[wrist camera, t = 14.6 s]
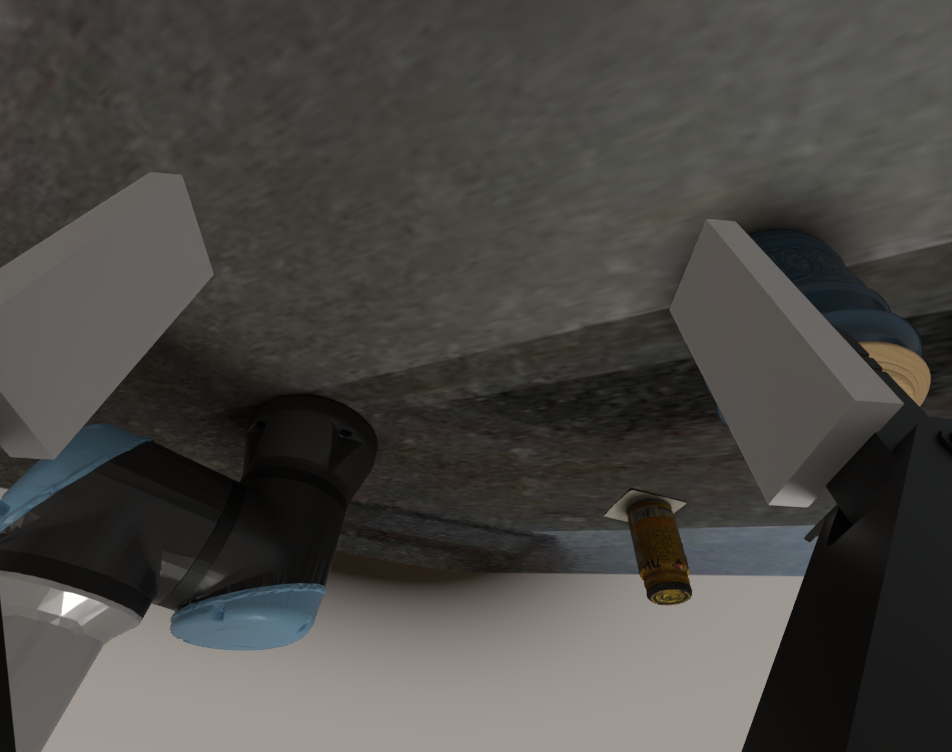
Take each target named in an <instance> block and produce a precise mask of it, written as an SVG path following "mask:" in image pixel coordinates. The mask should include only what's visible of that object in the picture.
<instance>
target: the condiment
mask: <svg viewBox="0 0 952 752" xmlns="http://www.w3.org/2000/svg"><path fill="white" fill-rule="evenodd" d="M685 504H686V503H684V502H681V501H677V500H674V499H670V498H666V497H661V496H655V495H652V494H648V493H645V492H638V491H634V490H630V491H629V492H628V493H627V494H626V495H624V496H623V497H622V498H621V499H620V500H619V501H618V502H617V503H616V504H614V506H613V507H612V508H611V509H610V510H609V511H608V512H607V513H606V514H605V515H604V516H606V517H609V518H614V519H618V520H622V521H627V522H629V527H630V531H631V536H632V540H633V545H634V551H635V556H636V560H637V565H638V569H639V574H640V577H641V578H642V580H644V585H645V588H646V590H647V597H648V599H649V600H650V601H652V602H653V603H655V604H659V605H675V604H680V603H684V602H686V601H687V600H688V599H690V597H691V596H692V589H691V586H690V581H689V578H688V574H689V567H688V563H687V558H686V556H685V553H684V549H683V544H682V542H681V538H680V534H679V531H678V528H677V524H676V521H675V517H674V514H673V513H674V512H676V511H677V510H679V509H680V508H681V507H683V506H684V505H685ZM623 510H625V511H626V513H625V511H623Z"/></svg>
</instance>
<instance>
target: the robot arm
mask: <svg viewBox="0 0 952 752" xmlns="http://www.w3.org/2000/svg"><path fill="white" fill-rule="evenodd" d="M213 275H214V274H213V270H212V267H211V264H210V261H209V258H208V255H207V252H206V249H205V245H204V242H203V239H202V236H201V233H200V230H199V227H198V223H197V220H196V217H195V214H194V211H193V208H192V205H191V202H190V198H189V195H188V192H187V189H186V186H185V183H184V180H183V176H182V175H178V174H166V173H154V172H150V173H148V174H146V175H145V176H143V177H142V178H140V179H139V180H137V181H136V182H134V183H132V184H131V185H129V186H128V187H126V188H125V189H123V190H121V191H120V192H118V193H117V194H115V195H114V196H112V197H111V198H109V199H107V200H106V201H104V202H103V203H101V204H100V205H98V206H96V207H95V208H93V209H92V210H90V211H89V212H87V213H86V214H84V215H82V216H81V217H79V218H78V219H76V220H75V221H73V222H72V223H70V224H68V225H67V226H65V227H64V228H62V229H61V230H59V231H57V232H56V233H54V234H53V235H51V236H50V237H48V238H47V239H45V240H43V241H42V242H40V243H39V244H37V245H36V246H34V247H32V248H31V249H29V250H28V251H26V252H25V253H23V254H22V255H20V256H18V257H17V258H15V259H14V260H12V261H11V262H9V263H8V264H6V265H4V266H3V267H1V268H0V446H1V447H2V448H3V449H4V450H5V452H6V453H7V454H8V455H9V456H10V457H19V458H35V459H41V460H39V461H38V462H37V463H36V464H35V465H34V466H33V467H32V468H31V469H29V470H28V471H27V472H26V473H25V474H24V475H23V476H22V477H21V478H20V479H19V480H18V481H17V482H16V483H15V484H14V485H13V486H12V487H11V488H10V489H9V490H8V491H7V492H6V493H5V494H4V495H3V496H2V499H1V500H0V752H41V751H42V749H43V747H44V746H45V744H46V742H47V740H48V739H49V737H50V735H51V734H52V732H53V730H54V729H55V727H56V725H57V723H58V722H59V720H60V718H61V717H62V715H63V713H64V711H65V710H66V708H67V706H68V705H69V703H70V701H71V700H72V698H73V696H74V695H75V693H76V691H77V689H78V688H79V686H80V684H81V683H82V681H83V679H84V677H85V676H86V674H87V672H88V671H89V669H90V667H91V666H92V664H93V662H94V660H95V659H96V657H97V655H98V654H99V652H100V650H101V648H102V647H103V645H104V644H105V643H107V642H108V641H109V640H111V639H112V638H114V637H116V636H118V635H120V634H122V633H124V632H126V631H128V630H130V629H132V628H135V627H137V626H138V625H139V624H140V622H141V621H142V619H143V617H144V615H145V613H146V612H147V610H148V608H149V606H150V605H151V603H152V604H155V605H159V606H162V607H165V608H168V609H172V610H174V611H175V613H174V614H173V615H172V617H171V628H170V630H171V633H172V634H173V635H174V636H175V637H176V638H178V639H183V641H184V642H186V643H190V644H193V645H197V646H202V647H207V648H214V649H224V650H264V649H271V648H277V647H282V646H286V645H288V644H292V643H294V642H296V641H298V640H300V639H301V638H302V637H304V636H305V635H306V634H307V633H308V631H309V630H310V629H311V627H312V626H313V623H314V621H315V618H316V615H317V612H318V609H319V606H320V603H321V601H322V598H323V596H324V595H325V593H326V584H327V580H328V576H329V573H330V569H331V565H332V561H333V557H334V554H335V550H336V546H337V543H338V539H339V535H340V531H341V527H342V524H343V520H344V516H345V512H346V509H347V505H348V503H349V502H350V501H351V499H352V498H353V496H354V495H355V493H356V492H357V490H358V489H359V488H360V486H361V485H362V483H363V482H364V480H365V479H366V478H367V476H368V475H369V473H370V472H371V470H372V468H373V465H374V462H375V458H376V454H377V448H378V444H377V439H376V436H375V434H374V432H373V430H372V429H371V427H370V426H369V425H368V423H367V422H366V421H365V420H364V419H363V418H361V417H360V416H359V415H358V414H356V413H355V412H353V411H352V410H350V409H348V408H347V407H345V406H343V405H340V404H338V403H336V402H333V401H330V400H327V399H323V398H319V397H314V396H305V395H291V396H283V397H279V398H276V399H273V400H270V401H268V402H267V403H265V404H264V405H262V406H261V407H260V408H259V409H258V410H257V412H256V413H255V415H254V417H253V419H252V421H251V423H250V425H249V427H248V430H247V434H246V443H245V456H244V468H243V476H242V478H241V481H240V483H239V482H237V481H235V480H233V479H231V478H229V477H227V476H225V475H222V474H220V473H218V472H216V471H214V470H212V469H210V468H207V467H205V466H203V465H201V464H199V463H197V462H195V461H193V460H191V459H188V458H186V457H184V456H182V455H180V454H178V453H176V452H174V451H172V450H170V449H168V448H166V447H164V446H162V445H159V444H157V443H155V442H154V440H153V439H151V438H148V437H144V438H143V437H141V436H138V435H135V434H133V433H131V432H128V431H126V430H123V429H121V428H119V427H116V426H114V425H111V424H104V423H98V424H92V425H88V426H86V427H83V426H84V425H85V423H86V422H87V421H88V420H89V419H90V418H91V416H92V415H93V414H94V413H95V412H96V411H97V410H98V408H99V407H100V406H101V405H102V404H103V403H104V401H105V400H106V399H107V398H108V397H109V396H110V394H111V393H112V392H113V391H114V390H115V389H116V387H117V386H118V385H119V384H120V383H121V382H122V380H123V379H124V378H125V377H126V376H127V375H128V374H129V372H130V371H131V370H132V369H133V368H134V367H135V365H136V364H137V363H138V362H139V361H140V360H141V358H142V357H143V356H144V355H145V354H146V353H147V351H148V350H149V349H150V348H151V347H152V346H153V345H154V343H155V342H156V341H157V340H158V339H159V338H160V336H161V335H162V334H163V333H164V332H165V331H166V329H167V328H168V327H169V326H170V325H171V324H172V322H173V321H174V320H175V319H176V318H177V317H178V316H179V314H180V313H181V312H182V311H183V310H184V309H185V307H186V306H187V305H188V304H189V303H190V302H191V300H192V299H193V298H194V297H195V296H196V295H197V293H198V292H199V291H200V290H201V289H202V288H203V287H204V285H205V284H206V283H207V282H208V281H209V280H210V278H211V277H212V276H213ZM669 310H670V312H671V314H672V316H673V318H674V320H675V322H676V324H677V326H678V328H679V330H680V332H681V334H682V336H683V338H684V340H685V342H686V344H687V346H688V348H689V350H690V352H691V354H692V356H693V357H694V359H695V361H696V363H697V365H698V367H699V369H700V371H701V373H702V375H703V377H704V379H705V381H706V383H707V385H708V387H709V389H710V391H711V393H712V395H713V397H714V399H715V401H716V403H717V405H718V407H719V409H720V411H721V413H722V415H723V417H724V419H725V421H726V423H727V424H728V426H729V428H730V430H731V432H732V434H733V436H734V438H735V440H736V442H737V444H738V446H739V448H740V450H741V452H742V454H743V456H744V458H745V460H746V462H747V464H748V466H749V468H750V470H751V472H752V474H753V476H754V478H755V480H756V482H757V484H758V486H759V488H760V490H761V491H762V493H763V495H764V497H765V499H766V501H767V503H768V505H778V506H794V507H809V505H810V504H811V503H812V502H813V501H814V500H815V499H816V498H817V497H818V496H819V495H820V494H821V493H822V492H823V491H824V489H825V488H826V487H827V489H828V490H829V492H830V493H831V495H832V497H833V498H834V500H835V501H836V503H837V505H836V506H835V507H834V508H833V509H832V510H831V511H830V512H829V513H828V514H827V515H826V516H825V517H824V518H823V519H822V520H821V521H820V522H819V523H818V524H817V525H816V526H815V527H814V528H813V529H812V530H811V531H810V532H809V533H808V534H807V535H806V537H805V538H804V539H805V540H807V541H808V542H811V541H812V540H813V539H814V538H815V537H816V536H819V537H818V540H817V542H816V545H815V548H814V551H813V554H812V556H811V559H810V562H809V565H808V567H807V570H806V573H805V576H804V579H803V581H802V584H801V587H800V590H799V593H798V595H797V598H796V601H795V604H794V607H793V610H792V613H791V615H790V618H789V621H788V624H787V627H786V629H785V632H784V635H783V638H782V640H781V643H780V646H779V649H778V651H777V654H776V657H775V660H774V662H773V665H772V668H771V671H770V674H769V677H768V679H767V682H766V685H765V688H764V691H763V693H762V696H761V699H760V702H759V704H758V707H757V710H756V713H755V716H754V718H753V721H752V724H751V727H750V730H749V732H748V735H747V738H746V741H745V744H744V746H743V749H742V752H952V420H951V419H946V418H939V417H929V416H928V415H927V414H926V413H925V412H924V411H923V410H922V409H921V408H920V407H919V406H918V405H917V404H916V403H915V401H914V400H913V399H912V398H911V397H910V396H909V395H908V394H907V393H906V392H905V391H904V390H903V389H902V388H901V387H900V386H899V385H898V384H897V383H896V382H895V380H894V379H893V378H892V377H891V376H890V375H889V374H888V373H887V372H883V371H882V369H883V368H882V367H881V366H880V365H879V364H878V363H877V362H876V361H875V359H874V358H870V357H869V355H870V354H869V353H868V352H867V351H866V350H865V349H864V348H863V347H862V346H861V345H860V344H859V343H858V342H857V341H856V340H855V338H853V337H852V336H850V335H849V334H847V333H846V332H844V331H843V330H841V329H840V328H838V327H837V326H835V325H834V324H832V323H830V322H828V321H827V320H826V319H825V318H824V316H823V315H822V314H821V313H820V312H819V311H818V310H817V309H816V308H815V307H814V306H813V305H812V304H811V302H810V301H809V300H808V299H807V298H806V297H805V296H804V295H803V294H802V293H801V292H800V291H799V289H798V288H797V287H796V286H795V285H794V284H793V283H792V282H791V281H790V280H789V279H788V278H787V276H786V275H785V274H784V273H783V272H782V271H781V270H780V269H779V268H778V267H777V266H776V265H775V263H774V262H773V261H772V260H771V259H770V258H769V257H768V256H767V255H766V254H765V253H764V252H763V251H762V249H761V248H760V247H759V246H758V245H757V244H756V243H755V242H754V241H753V240H752V239H751V238H750V236H749V235H748V234H747V233H746V232H745V231H744V230H743V229H742V228H741V227H740V226H739V225H738V223H737V222H736V221H725V220H714V219H706V221H705V223H704V225H703V228H702V230H701V233H700V235H699V238H698V240H697V243H696V245H695V248H694V250H693V252H692V255H691V257H690V260H689V262H688V265H687V267H686V270H685V272H684V275H683V277H682V280H681V282H680V284H679V287H678V289H677V292H676V294H675V297H674V299H673V302H672V304H671V307H670V309H669ZM82 427H83V428H82Z"/></svg>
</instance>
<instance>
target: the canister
mask: <svg viewBox="0 0 952 752" xmlns="http://www.w3.org/2000/svg"><path fill="white" fill-rule="evenodd" d="M749 236H750V238H751V239H752V240H753V241H754V242H755V243H756V244H757V245H758V246H759V247H760V248H761V249H762V251H763V252H764V253H765V254H766V255H767V256H768V257H769V258H770V259H771V260H772V261H773V262H774V263H775V265H776V266H777V267H778V268H779V269H780V270H781V271H782V272H783V273H784V274H785V275H786V276H787V278H788V279H789V280H790V281H791V282H792V283H793V284H794V285H795V286H796V287H797V288H798V289H799V291H800V292H801V293H802V294H803V295H804V296H805V297H806V298H807V299H808V300H809V301H810V302H811V304H812V305H813V306H814V307H815V308H816V309H817V310H818V311H819V312H820V313H821V314H822V315H823V316H824V318H825V319H826V320H827V321H828V322H830V323H832V324H834V325H835V326H837V327H838V328H840V329H841V330H843V331H844V332H846V333H847V334H849V335H850V336H852V337H853V338H855V340H856V341H857V342H858V343H859V344H860V345H861V346H862V347H863V348H864V349H865V350H866V351H867V352H868V353H869V354H870V355H869V357H870V358H874V359H875V361H876V362H877V363H878V364H879V365H880V366H881V367H882V368H883V369H882V371H883V372H887V373H888V374H889V375H890V376H891V377H892V378H893V379H894V380H895V382H896V383H897V384H898V385H899V386H900V387H901V388H902V389H903V390H904V391H905V392H906V393H907V394H908V395H909V396H910V397H911V398H912V399H913V400H914V401H915V403H916V404H917V405H918V406H919V407H920V405H921V404H922V402H923V401H924V399H925V397H926V395H927V393H928V390H929V387H930V378H931V377H930V372H929V368H928V366H927V364H926V363H925V361H924V360H923V359H922V354H923V348H922V342H921V339H920V336H919V334H918V332H917V331H916V329H915V328H914V327H913V326H912V325H911V324H910V323H909V322H908V321H906V320H905V319H903V318H902V317H900V316H898V315H896V314H893V313H891V310H890V308H889V306H888V304H887V303H886V301H885V300H884V299H883V298H882V297H881V296H880V295H879V294H878V293H877V292H875V291H874V290H872V289H870V288H868V287H867V286H866V285H865V284H864V283H863V282H862V281H861V280H860V279H859V278H858V277H857V276H856V275H855V274H854V273H852V272H851V271H850V270H849V269H848V268H847V267H846V266H845V264H844V262H843V260H842V259H841V257H840V256H839V255H838V254H837V253H836V252H835V251H834V250H833V249H832V248H831V247H829V246H828V245H827V244H825V243H824V242H822V241H820V240H818V239H816V238H813V237H811V236H809V235H807V234H804V233H802V232H798V231H793V230H780V229H779V230H767V231H761V232H757V233H753V234H749ZM702 378H703V381H704V384H705V386H706V388H707V390H708V391H709V392H710V394H711V395H712V393H711V391H710V389H709V387H708V385H707V383H706V381H705V379H704V377H703V375H702ZM712 396H713V395H712ZM715 406H716V410H717V413H718V416H719V418H720V419H721V421H722V422H723V423H724V424H725V426H726V427H728V428H729V426H728V424H727V423H726V421H725V419H724V417H723V415H722V413H721V411H720V409H719V407H718V405H717V403H716V401H715ZM729 429H730V428H729Z"/></svg>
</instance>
